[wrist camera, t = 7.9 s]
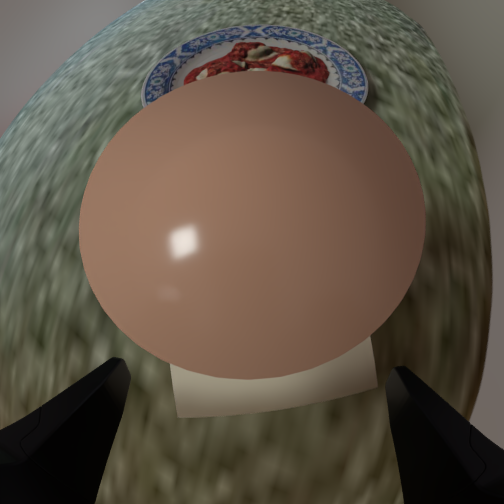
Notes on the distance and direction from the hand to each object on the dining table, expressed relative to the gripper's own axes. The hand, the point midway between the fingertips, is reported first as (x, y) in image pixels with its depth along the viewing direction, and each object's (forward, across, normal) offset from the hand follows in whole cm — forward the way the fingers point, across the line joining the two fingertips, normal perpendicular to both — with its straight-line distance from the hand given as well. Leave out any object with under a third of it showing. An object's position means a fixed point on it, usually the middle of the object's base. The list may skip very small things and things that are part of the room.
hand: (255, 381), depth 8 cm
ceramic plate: (+28, +2, -14) cm, 31 cm away
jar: (+8, 0, +3) cm, 8 cm away
